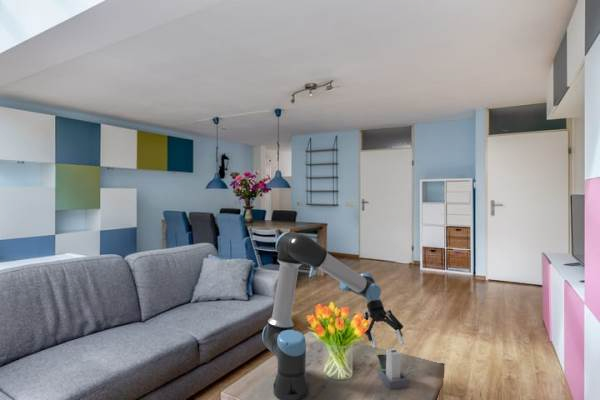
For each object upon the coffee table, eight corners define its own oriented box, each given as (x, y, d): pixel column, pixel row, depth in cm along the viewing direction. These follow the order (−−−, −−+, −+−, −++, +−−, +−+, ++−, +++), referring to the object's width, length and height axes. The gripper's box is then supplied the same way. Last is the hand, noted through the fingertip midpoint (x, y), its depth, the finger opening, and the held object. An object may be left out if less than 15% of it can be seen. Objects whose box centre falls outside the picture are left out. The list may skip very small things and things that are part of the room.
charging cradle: (389, 389, 149) (389, 382, 149) (377, 376, 159) (377, 370, 159) (409, 385, 151) (409, 378, 151) (396, 373, 161) (396, 367, 161)
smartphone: (381, 368, 165) (376, 354, 180) (381, 371, 165) (376, 356, 180) (398, 369, 164) (391, 354, 179) (398, 371, 164) (391, 356, 179)
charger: (392, 382, 152) (392, 353, 152) (386, 376, 157) (386, 348, 157) (400, 381, 153) (400, 352, 153) (394, 375, 158) (394, 347, 158)
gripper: (393, 304, 180) (409, 346, 166) (348, 308, 174) (360, 352, 160) (399, 297, 175) (416, 339, 161) (352, 300, 168) (366, 345, 154)
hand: (388, 346), depth 160 cm, fingers open, 13 cm apart
